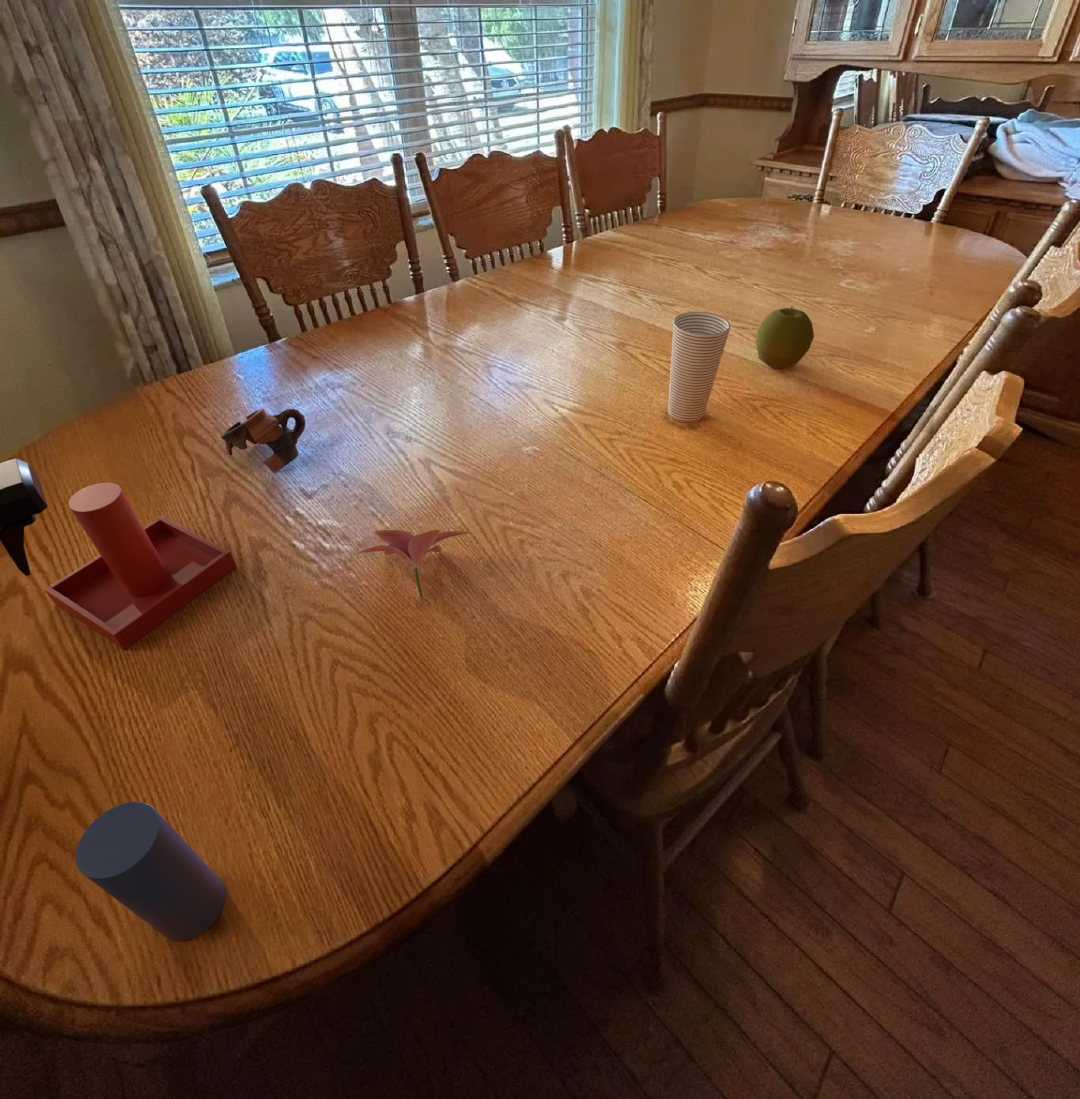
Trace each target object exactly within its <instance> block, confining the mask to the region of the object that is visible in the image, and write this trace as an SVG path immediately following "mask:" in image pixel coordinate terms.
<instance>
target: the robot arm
mask: <svg viewBox="0 0 1080 1099" xmlns="http://www.w3.org/2000/svg"><path fill="white" fill-rule="evenodd" d="M47 508H49V507H48V502H47V500H46V497H45V493H44V490H43V487H42V483H41V479H40V478H39V476H38V475H37V473H36V472H35V471H34V469H33V467H32V466H31V464H30V463H28V462H27V461H24V460H21V459H19V458H13V459H9V460H6V461H3V462H0V543H1V544H2V546H3V548H4V549H5V550H6V552H7V553H8V555H9V556H10V558H11V560H12V561H13V563H14V565H15V566H16V567H17V569H18V570H19V571H20V572H21V573H22V574H23V575H24V576H25V577H28V576H31V575H32V572H31V569H30V566H29V562H28V557H27V553H26V549H25V528H26V527H28V526H30V525H33V524H34V523H35V522H36V520H37V518H36V515H38V514H42V513H43V512H44V511H45V510H46V509H47Z"/></svg>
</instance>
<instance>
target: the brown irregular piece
mask: <svg viewBox="0 0 1080 1099" xmlns="http://www.w3.org/2000/svg"><path fill="white" fill-rule="evenodd" d="M245 418H246V420H245V421H243V422H242V423H241V421H238V422H236V423H234V424H233V425H232V426H230V427H229V428H227V430H225V432H223V434H221V435H220V438H221V439H222V440H223V441H224V442H225V450H226V452H227V454H228V455H229V456H233V448H234V447H235V448H237V449H239V450H241V451H243V450H247V449H248V445H247V441H248V442H249V443H251V444H253V445H258V444H259V445H266V447H268V448H269V449H271V450H272V451H273V454H272V455H270V456H269V457H268V458H267V459H265V460H264V464H265V465H266V466H267V467H268V468H269V470H270V471H271V472H272V473H273V474H276V473H277V472H279V471H280V470H282V469H284V468H285V467H286V466H287V465H289V464H290V463H291V462H293V461H294V460H296V459H297V458H298V456H299V451H298V447H297V445H298V441H299V439H300V437H301V436H302V435H303V434H304V431H305V429H306V418H305V415H304V414H303V413H301V411H300V410H298V409H295V408H288V409H285V410H283V411H281V412H280V413H278V414H273V415H272V414H268V413H267V412H266V411H265V409H264V408H258V409H256V410H255V411H253V412H252V413H250V414H248V415H247V416H245ZM291 418H292V419H293V420H294V427H293V429H290V427H288V422H289V419H291Z"/></svg>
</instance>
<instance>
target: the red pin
mask: <svg viewBox="0 0 1080 1099" xmlns="http://www.w3.org/2000/svg"><path fill="white" fill-rule="evenodd" d="M68 508H69V509H70V511H71V512H72V514H73V515H74V517H75V519H76V520H77V522H78V523H79V525H80V526H81V528H82V529H83V530H84V533H85V534H86V535H87V537H88V539H89V540H90V541H91V543H92V544H93V547H95V549H96V551H97V552H98V554H99V555H101V556H102V558H103V559H104V561H105V562H106V564H107V566H108V567H109V569H110V570H111V572H112V573H113V575H114V576H115V578H116V579H117V581H118V582H119V584H120V585H121V587H122V588H123V590H124V591H125V593H126V594H128V595H130V596H134V597H141V596H146V595H150V594H152V593H154V592H156V591H158V590H160V589H161V588H162V587H163V586H164V585H165V584H166V583H167V581H168V579H169V572H168V570H167V569H166V567H165V565H164V563H163V562H162V560H161V558H160V556H159V555H158V553H157V551H156V549H155V548H154V546H153V544H152V542H151V541H150V539H149V537H148V535H147V534H146V532H145V530H144V528H143V527H144V526H143V525H142V523H141V520H140V519H139V517H138V516H137V514H136V512H135V511H134V509H133V507H132V505H131V504H130V502H129V501H128V498H127V497H126V494H125V493H124V491H123V490H122V488H121V487H120V486H119V485H118V484H116V483H113V482H100V483H95V484H90V485H88V486H86V487H84V488H81V489H79V490H78V491H77V492H75V493H74V494H73V495H72V496H70V498H69V500H68Z"/></svg>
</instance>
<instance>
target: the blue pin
mask: <svg viewBox="0 0 1080 1099" xmlns="http://www.w3.org/2000/svg"><path fill="white" fill-rule="evenodd" d="M75 864H76V867H77V869H78V871H79V872H80V873H81V874H82V875H83V876H84V877H86V878H87V879H89V880H90V881H91V882H93V883H94V884H95V885H97V886H98V887H99V888H100V889H102V890H103V891H104V892H106V893H107V894H108V895H110V897H112V898H114V899H115V900H116V901H118V902H119V903H120V904H121V905H123V906H124V907H125V908H126V909H128V910H129V911H131V912H132V913H133V914H135V915H136V916H137V917H138V918H140V919H141V920H143V921H144V922H145V923H147V924H148V925H149V926H150V927H151V928H153V929H154V930H156V931H157V932H158V933H160V934H161V936H164V937H165V938H166V939H168V940H170V941H174V942H185V941H189V940H192V939H195V938H196V937H199V936H200V935H202V934H203V933H204V932H206V931H207V930H208V929H209V928H211V926H212V925H213V924H214V923H215V922H216V920H217V919H218V917H219V916H220V914H221V912H222V910H223V907H224V906H225V901H226V889H225V888H226V887H225V885H224V883H223V881H222V880H221V878H220V877H219V876H218V875H217V873H215V872H214V871H213V870H212V869H211V868H210V866H209V865H207V863H206V862H205V861H204V860H203V859H202V858H201V857H200V856H199V855H198V854H197V852H195V850H194V848H192V847H191V846H190V845H189V844H188V843H187V842H186V841H185V840H184V839H183V837H182V836H181V835H180V834H179V833H178V832H177V831H176V830H175V829H174V828H173V827H172V826H171V825H170V824H169V822H168V821H167V820H166V819H165V818H164V817H163V816H162V815H161V814H160V813H159V812H158V810H157V809H156V808H154V807H153V806H152V805H151V804H149V803H146V802H143V801H128V802H125V803H121V804H118V805H115V806H113V807H111V808H109V809H108V810H106V811H104V812H103V813H102V814H100V815H99V816H98V817H97V818H96V819H94V820H93V821H92V822H91V823H90V824H89V826H87V828H86V829H85V831H84V832H83V833H82V835H81V837H80V839H79V841H78V843H77V846H76V849H75Z"/></svg>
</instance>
